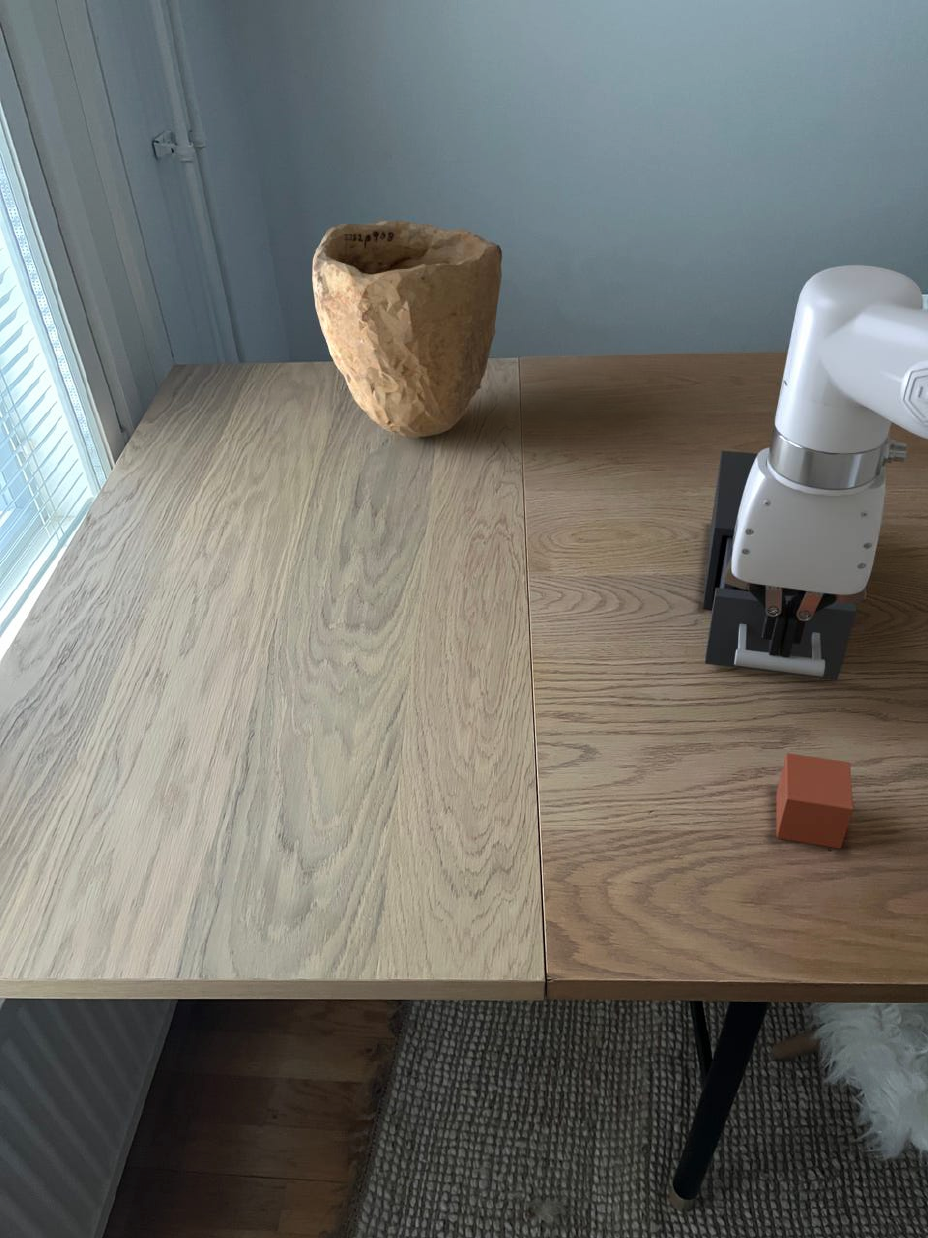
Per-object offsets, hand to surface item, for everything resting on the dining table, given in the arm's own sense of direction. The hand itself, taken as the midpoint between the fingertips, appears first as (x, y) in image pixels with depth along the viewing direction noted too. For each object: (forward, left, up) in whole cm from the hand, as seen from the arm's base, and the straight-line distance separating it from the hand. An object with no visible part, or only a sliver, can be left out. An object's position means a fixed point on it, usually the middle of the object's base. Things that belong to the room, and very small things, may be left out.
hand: (778, 645), depth 79 cm
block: (-3, +13, -7) cm, 15 cm away
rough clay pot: (+44, -42, -7) cm, 61 cm away
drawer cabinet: (0, -19, -7) cm, 20 cm away
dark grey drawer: (0, -7, -6) cm, 9 cm away
